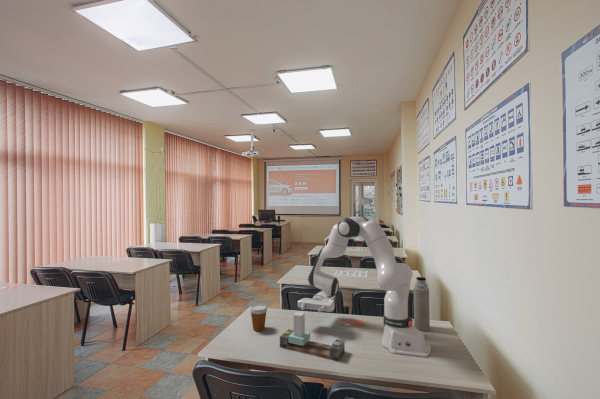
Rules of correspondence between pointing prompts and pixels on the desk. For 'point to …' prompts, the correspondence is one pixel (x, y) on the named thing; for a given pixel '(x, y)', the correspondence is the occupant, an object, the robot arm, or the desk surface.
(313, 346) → the rail
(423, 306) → the thermos bottle
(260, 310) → the disposable coffee cup
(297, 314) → the block
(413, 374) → the desk surface
